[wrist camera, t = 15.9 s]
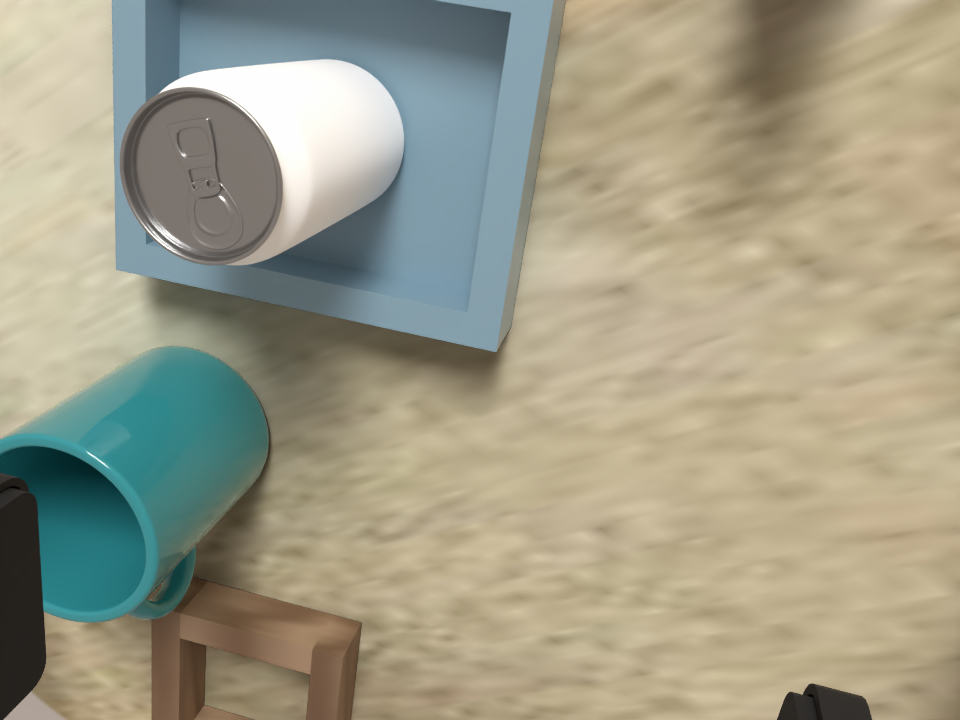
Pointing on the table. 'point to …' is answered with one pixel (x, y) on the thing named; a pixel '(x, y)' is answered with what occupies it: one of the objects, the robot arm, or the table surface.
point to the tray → (425, 163)
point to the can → (258, 157)
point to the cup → (136, 480)
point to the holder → (250, 650)
